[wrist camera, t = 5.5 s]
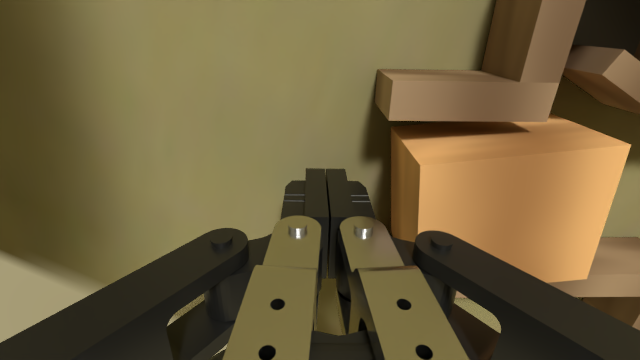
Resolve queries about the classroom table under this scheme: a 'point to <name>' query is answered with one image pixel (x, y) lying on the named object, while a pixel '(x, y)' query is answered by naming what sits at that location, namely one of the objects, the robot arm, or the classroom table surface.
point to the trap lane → (542, 101)
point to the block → (508, 189)
